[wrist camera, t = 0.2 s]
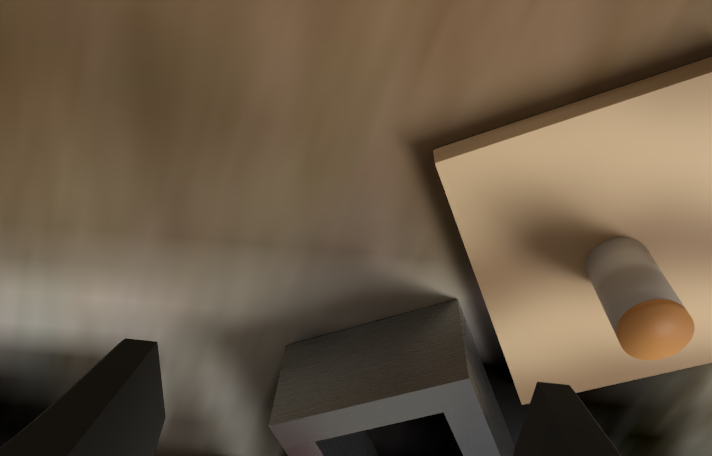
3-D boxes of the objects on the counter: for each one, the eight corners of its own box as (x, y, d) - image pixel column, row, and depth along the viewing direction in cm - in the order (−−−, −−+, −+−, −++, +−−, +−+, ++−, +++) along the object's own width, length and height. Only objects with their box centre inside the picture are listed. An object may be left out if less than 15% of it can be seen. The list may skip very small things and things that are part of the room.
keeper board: (759, 329, 22) (835, 427, 18) (517, 385, 24) (540, 484, 21) (736, 48, 17) (835, 102, 13) (432, 149, 19) (442, 222, 15)
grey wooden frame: (522, 467, 27) (541, 555, 24) (375, 496, 29) (373, 583, 25) (457, 299, 22) (468, 378, 19) (286, 345, 24) (268, 426, 21)
